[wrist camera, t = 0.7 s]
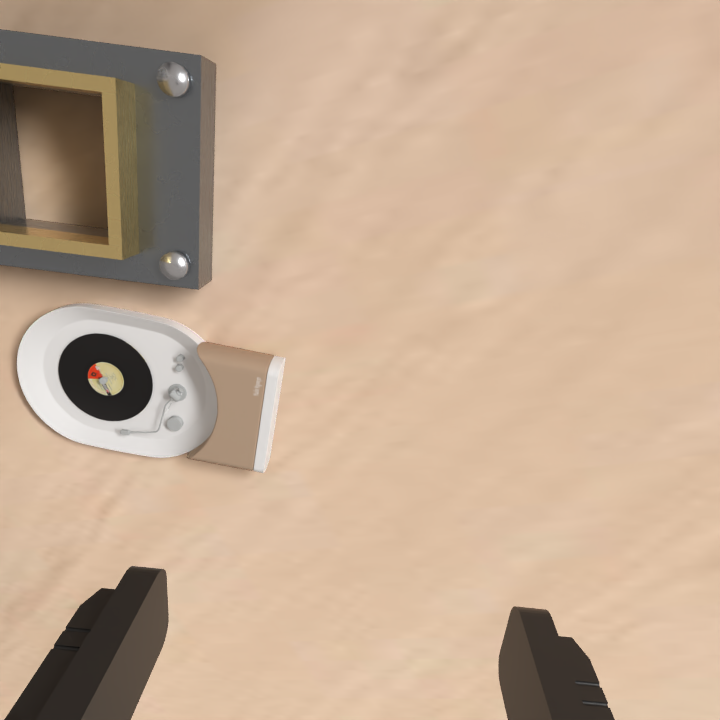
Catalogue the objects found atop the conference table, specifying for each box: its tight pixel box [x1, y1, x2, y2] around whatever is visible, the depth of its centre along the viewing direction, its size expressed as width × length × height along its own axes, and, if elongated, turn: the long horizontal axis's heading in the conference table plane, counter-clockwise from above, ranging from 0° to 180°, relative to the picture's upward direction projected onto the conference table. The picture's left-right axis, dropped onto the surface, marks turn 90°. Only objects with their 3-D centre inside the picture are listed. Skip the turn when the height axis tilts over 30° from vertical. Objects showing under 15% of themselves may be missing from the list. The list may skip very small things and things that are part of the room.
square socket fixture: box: [0, 29, 216, 290], centre depth 34 cm, size 14×18×6 cm
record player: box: [17, 303, 286, 473], centre depth 41 cm, size 12×3×20 cm
